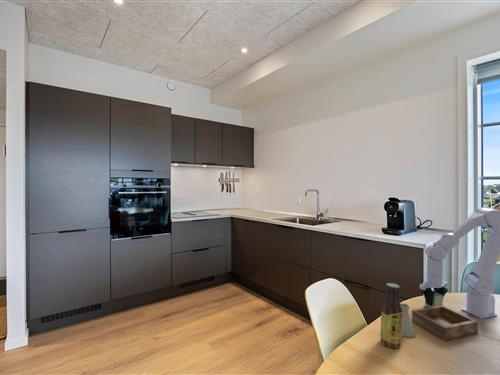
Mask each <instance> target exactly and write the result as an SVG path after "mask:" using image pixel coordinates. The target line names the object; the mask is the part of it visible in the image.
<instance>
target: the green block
mask: <svg viewBox="0 0 500 375" xmlns="http://www.w3.org/2000/svg"><path fill="white" fill-rule="evenodd" d="M440 305H443V306H444V298H443V295H441V294H438V293H435V295H434V297H433V304H432V306H430V305H427V304H426V300H425V299H424V306H425V307H426V308H429V307H434V306H440Z"/></svg>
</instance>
